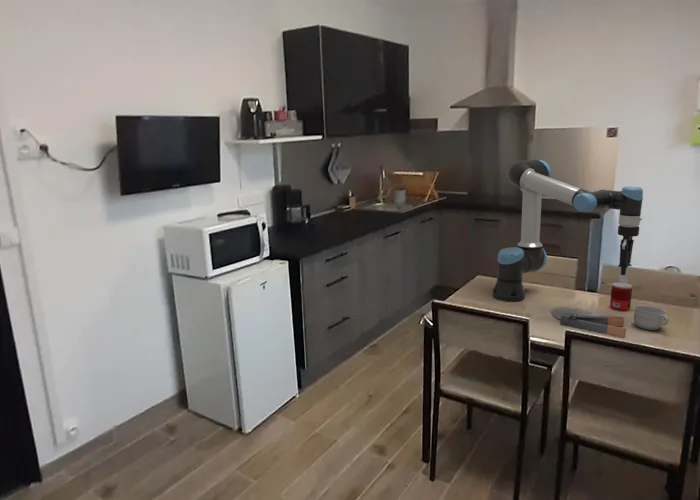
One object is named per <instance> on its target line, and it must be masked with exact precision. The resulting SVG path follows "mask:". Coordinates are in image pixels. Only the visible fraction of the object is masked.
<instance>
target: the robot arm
mask: <svg viewBox="0 0 700 500" xmlns="http://www.w3.org/2000/svg"><path fill="white" fill-rule="evenodd" d="M507 179H508V181H509V182H510V184H511V185H513V186H515V187H516V188H519V190H520V191H521V192H522V200H521V201H522V206H521V226H520V227H521V230H520V241H519V242H518V243H517V244H516V245H517V246H516V247H514V246H513V247H506V248H505V247H504V248H502V249H500V250H499V251H498V253H497V260H496V261H497V267H496V282H495V284H494V286H493V288H492V293H491V294H492V297H493V298H494V299H496V300H497V301H498V300H499V301H503V302H520V301H523V300H525V299H526V291H525V288H524V284H523V275H524V274H527V273H532V272H537V271H539V270H542V269H543V268H544V266H545V265H546V264H547V259H548V255H547V252H546V250H545V249H544V248H543V246H544V245H543V244H542V243H541V242H540V235H541V220H542V219H541V217H542V216H541V215H542V195H545V196H547V197H550V198H552V199H555V200H557V201H560V202H563V203H565V204H568V205H570V206H573V207H574V209H576V211H578V212H581V213H589V212H592V211H598V210H606V209H609V210H618V211H619V214H618V226H617V235H619V236H622V239H621V240H620V245H619V250H620V251H619V263H618V268H619V277H618V283H627V284H628V280H629V271H630V270H629V269H630V267H632V264H631V262H632V253H633V247H634V242H635V240H634V239H633V237H638V236H639V234H640V227H639V226H640V223H641V221H642V220H643V219H642V217H641V215H642V213H641V212H642V205H643V200H644V196H643V195H644V190H643V188H642V187H640V186H623V187H622V188H621V190H609V189H595V190H594V191H589V190H585V189H583V188H580V187H577V186H574V185H572V184H569V183H566V182H563V181H561V180H557V179H555V178H552V170H551V166H550V165H549V163H547V162H546V161H545V160H541V159H527V160H517V161H515V162H513V163H512V164H511V165H510V166H509V167H508V169H507Z"/></svg>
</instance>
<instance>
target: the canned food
mask: <svg viewBox="0 0 700 500" xmlns="http://www.w3.org/2000/svg"><path fill="white" fill-rule="evenodd" d="M632 294H633V285H632V284H630V283H628V282H627V283H623V282H613V283H612V284H611V291H610V301H609V307H610V309H612V310H614V311H617V310H618V311H619V312H629V311H630V309H631V304H632V297H633V296H632Z"/></svg>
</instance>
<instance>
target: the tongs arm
mask: <svg viewBox="0 0 700 500" xmlns="http://www.w3.org/2000/svg"><path fill="white" fill-rule="evenodd" d="M571 317H572V318H574V319H579V320H584V321H589V322H594V323H599V324H604V325H612V326H617V327H624V323H625V318H624V317H623V316H611V315H610V316H609V315H608V316H605V315H603V316H600V315H599V316H598V315H597V316H596V315H579V314H577V313H572V314H571Z"/></svg>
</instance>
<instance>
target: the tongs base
mask: <svg viewBox="0 0 700 500" xmlns="http://www.w3.org/2000/svg"><path fill="white" fill-rule="evenodd" d="M571 314H573V313H571V312H568V311H565V312H564V313H563V314H561V316H560V324H559V325H561V326H566V327H569V328H570V327H571V328H577V329H582V330H586V331H591V332H595V333H600V334H603V335H604V334H605V335H609V336H614V337H618V338H625V337H626V333H627V332H626V331H627V328H626V327H624V326H612V325H604V324H599V323H594V322H589V321H584V320H579V319H575V318H572V317H571Z"/></svg>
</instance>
